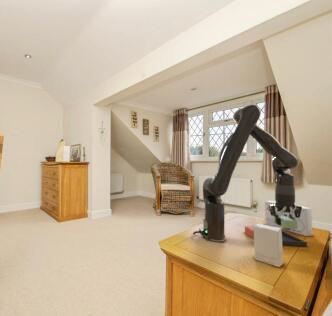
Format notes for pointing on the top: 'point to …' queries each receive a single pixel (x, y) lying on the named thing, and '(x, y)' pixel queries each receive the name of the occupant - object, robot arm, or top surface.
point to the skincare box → (302, 222)
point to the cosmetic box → (268, 244)
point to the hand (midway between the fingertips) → (285, 224)
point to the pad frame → (292, 240)
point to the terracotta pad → (249, 231)
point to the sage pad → (287, 222)
